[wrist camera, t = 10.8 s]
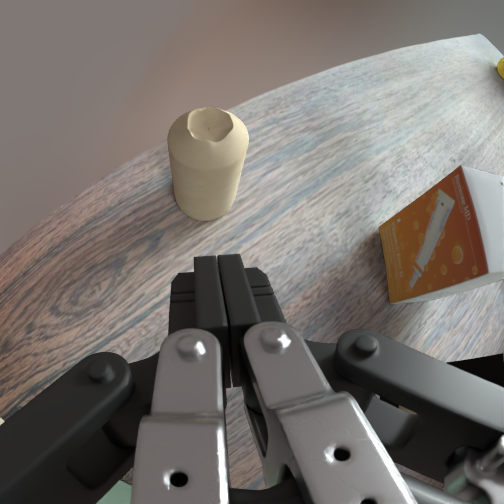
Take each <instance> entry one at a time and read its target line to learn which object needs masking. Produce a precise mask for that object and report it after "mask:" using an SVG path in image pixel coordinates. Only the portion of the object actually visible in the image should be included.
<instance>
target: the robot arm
mask: <svg viewBox="0 0 504 504" xmlns="http://www.w3.org/2000/svg"><path fill="white" fill-rule="evenodd" d="M217 264H218V266H217ZM230 372H231V378H232V383H233V387H240V386H242V390H243V395H244V410H245V413H246V417H247V420H248V423H249V426H250V429H251V432H252V436H253V439H254V442H255V445H256V448H257V451H258V454H259V457H260V460H261V463H262V467H263V474H264V479H265V484H266V487H267V489H264V490H246V489H235V488H231V481H230V471H229V459H228V445H227V431H226V416H225V409H226V406H227V397H226V388H231V381H230ZM375 394H377V395H379V396H381V397H383V398H385V399H387V400H390V401H392V402H394V403H396V404H398V405H400V406H402V407H404V408H406V409H409V410H411V411H413V412H415V413H417V414H409V413H407V412H405V411H403V410H401V409H398V408H396V407H394V406H392V405H390V404H388V403H386V402H384V401H382V400H380V399H378V398H376V397H374V395H375ZM393 461H394V462H396V463H398V464H400V465H402V466H404V467H407V468H409V469H411V470H413V471H416V472H418V473H420V474H422V475H425V476H427V477H429V478H432V479H434V480H437V481H439V482H442V483H444V488H443V491H441V490H439V489H437V488H435V487H432V486H430V485H428V484H426V483H424V482H422V481H420V480H417V479H415V478H413V477H411V476H409V475H407V474H405V473H402V472H399V471H398V469H397V468H396V466H395V464H394V463H393ZM133 466H134V470H133V480H132V490H131V502H130V504H504V388H503V387H501V386H499V385H496V384H494V383H491V382H489V381H487V380H484V379H482V378H480V377H477V376H475V375H472V374H470V373H468V372H465V371H463V370H461V369H458V368H456V367H454V366H451V365H449V364H447V363H444V362H442V361H440V360H438V359H435V358H433V357H431V356H428V355H426V354H424V353H422V352H419V351H417V350H415V349H412V348H410V347H408V346H406V345H403V344H401V343H399V342H397V341H394V340H392V339H390V338H388V337H385V336H383V335H381V334H379V333H377V332H374V331H371V330H367V329H353V330H350V331H347V332H345V333H344V334H342V335H341V336H340V338H339V339H338V342H337V344H331V343H319V342H312V341H308V340H305V339H303V337H302V336H301V334H300V333H299V331H298V330H297V329H295V328H294V327H292V326H290V325H288V324H287V323H286V320H285V318H284V316H283V313H282V311H281V308H280V306H279V304H278V301H277V299H276V296H275V295H274V292H273V289H272V287H271V285H270V282H269V280H268V277H267V275H266V274H264V273H263V272H262V271H261V270H259V269H258V268H257V267H256V268H244V265H243V262H242V259H241V256H240V254H230V255H218V256H217V259H216V256H201V257H194V272H187V273H178V275H177V276H176V277H175V278H174V280H173V281H172V282H171V296H170V311H169V329H168V337H166V338H165V340H164V341H163V342H162V344H161V347H160V351H159V352H158V353H156V354H155V355H153V356H151V357H149V358H147V359H144V360H140V361H137V362H133V363H130V364H128V363H127V361H126V360H125V359H124V358H123V357H122V356H120V355H118V354H115V353H111V352H99V353H95V354H92V355H90V356H88V357H86V358H84V359H83V360H82V361H80V362H79V363H78V364H76V365H75V366H74V367H73V368H71V369H70V370H69V371H67V372H66V373H65V374H64V375H62V376H61V377H60V378H59V379H57V380H56V381H55V382H53V383H52V384H51V385H50V386H48V387H47V388H46V389H45V390H43V391H42V392H41V393H40V394H38V395H37V396H36V397H35V398H33V399H32V400H31V401H30V402H28V403H27V404H26V405H25V406H23V407H22V408H21V409H20V410H18V411H17V412H16V413H15V414H13V415H12V416H11V417H10V418H8V419H7V420H6V421H5V422H4V423H2V424H1V425H0V504H96V503H97V502H98V501H99V500H100V499H101V498H102V497H103V496H104V495H105V494H106V493H107V492H108V491H109V490H110V489H111V488H112V487H113V486H114V485H115V484H116V483H117V482H118V481H119V480H120V479H121V478H122V477H123V476H124V475H125V474H126V473H127V472H128V471H129V470H130V469H131V468H132V467H133Z"/></svg>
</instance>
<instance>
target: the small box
mask: <svg viewBox="0 0 504 504" xmlns="http://www.w3.org/2000/svg"><path fill="white" fill-rule="evenodd" d="M379 232H380V236H381V241H382V247H383V253H384V259H385V266H386V274H387V282H388V291H389V301H390V304H401V303H411V302H420V301H429V300H436V299H440V298H444V297H448V296H451V295H455V294H458V293H462V292H465V291H468V290H472V289H475V288H478V287H481V286H484V285H487V284H491V283H494V282H497V281H500V280H503V279H504V178H503V177H501V176H498V175H495V174H492V173H489V172H485V171H481V170H478V169H474V168H470V167H466V166H462V165H461V166H459V167H458V168H457V169H455V170H454V171H453V172H451V173H450V174H449V175H448V176H446V177H445V178H444V179H442V180H441V181H440V182H438V183H437V184H436V185H435V186H433V187H432V188H431V189H429V190H428V191H427V192H425V193H424V194H423V195H421V196H420V197H419V198H417V199H416V200H415V201H413V202H412V203H411V204H409V205H408V206H406V207H405V208H404V209H402V210H401V211H400V212H398V213H397V214H396V215H394V216H393V217H392V218H390V219H389V220H388V221H386V222H385V223H383V224H382V225H381V226H379Z"/></svg>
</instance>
